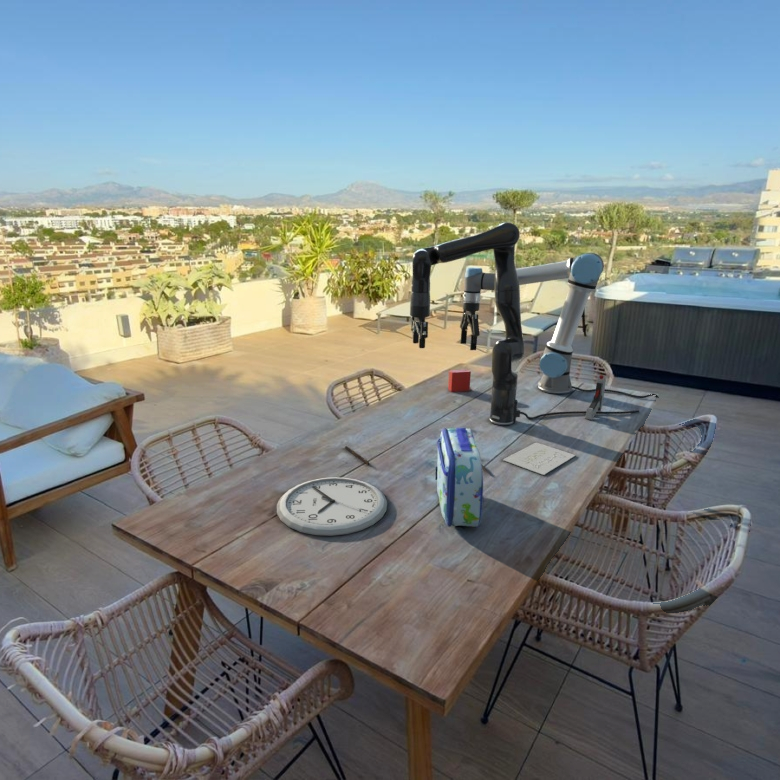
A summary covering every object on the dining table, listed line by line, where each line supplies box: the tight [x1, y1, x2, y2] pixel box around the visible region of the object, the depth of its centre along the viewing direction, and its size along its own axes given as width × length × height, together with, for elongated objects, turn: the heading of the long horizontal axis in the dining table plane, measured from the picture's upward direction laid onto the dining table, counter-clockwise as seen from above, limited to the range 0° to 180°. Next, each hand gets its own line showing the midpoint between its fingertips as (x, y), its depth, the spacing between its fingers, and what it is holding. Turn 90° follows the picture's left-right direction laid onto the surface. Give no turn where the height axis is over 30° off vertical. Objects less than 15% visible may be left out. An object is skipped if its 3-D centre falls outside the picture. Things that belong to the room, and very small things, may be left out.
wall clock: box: [276, 476, 388, 537], centre depth 142 cm, size 30×2×30 cm
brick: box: [447, 369, 472, 393], centre depth 245 cm, size 4×9×9 cm, turn 104°
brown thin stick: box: [344, 445, 370, 465], centre depth 173 cm, size 15×1×1 cm, turn 34°
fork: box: [482, 465, 488, 474], centre depth 169 cm, size 3×16×2 cm, turn 15°
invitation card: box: [502, 442, 577, 476], centre depth 174 cm, size 21×1×15 cm
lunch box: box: [434, 427, 484, 528], centre depth 139 cm, size 26×11×21 cm, turn 179°
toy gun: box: [585, 374, 606, 421], centre depth 213 cm, size 2×16×15 cm
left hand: (418, 345), depth 203 cm, fingers open, 8 cm apart
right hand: (468, 346), depth 248 cm, fingers open, 13 cm apart
